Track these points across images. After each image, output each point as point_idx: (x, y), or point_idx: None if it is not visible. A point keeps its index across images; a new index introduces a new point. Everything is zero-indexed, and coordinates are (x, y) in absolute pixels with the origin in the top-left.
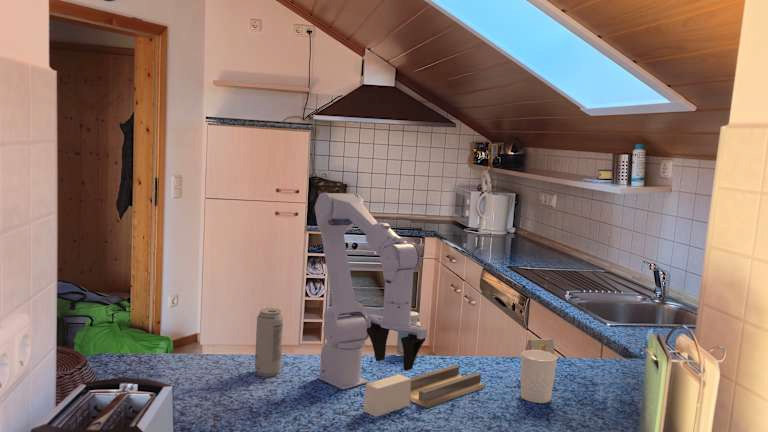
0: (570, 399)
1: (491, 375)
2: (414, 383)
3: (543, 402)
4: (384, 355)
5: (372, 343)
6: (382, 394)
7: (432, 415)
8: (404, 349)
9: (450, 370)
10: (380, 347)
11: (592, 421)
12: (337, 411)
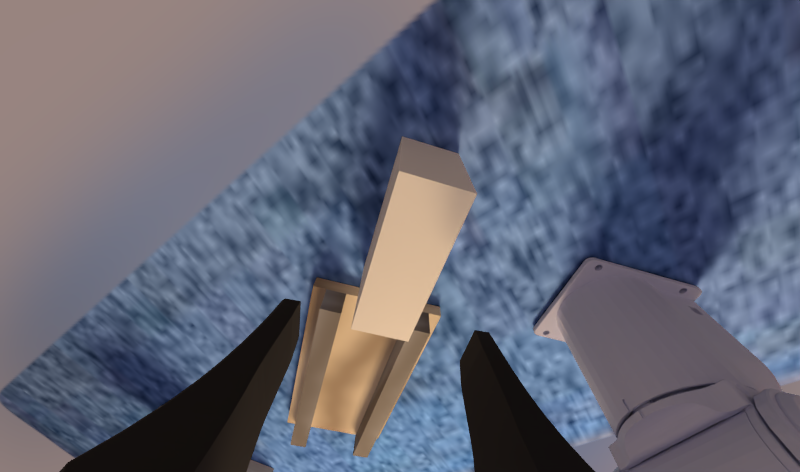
0: None
1: (316, 455)
2: (395, 355)
3: (158, 407)
4: (462, 380)
5: (546, 422)
6: (391, 189)
7: (275, 245)
8: (218, 406)
9: (359, 437)
10: (487, 412)
11: (40, 383)
12: (547, 91)
